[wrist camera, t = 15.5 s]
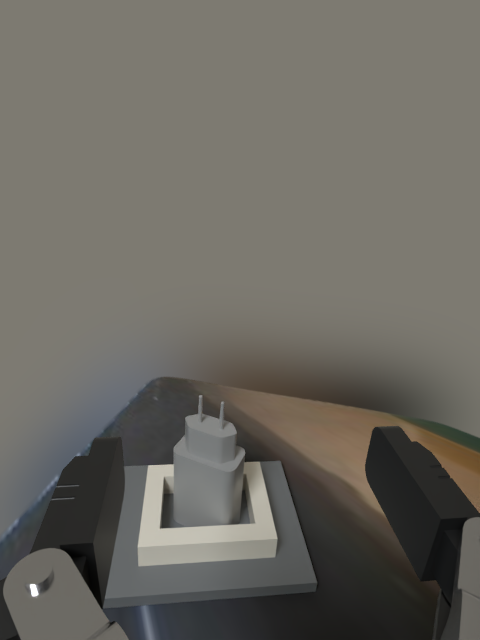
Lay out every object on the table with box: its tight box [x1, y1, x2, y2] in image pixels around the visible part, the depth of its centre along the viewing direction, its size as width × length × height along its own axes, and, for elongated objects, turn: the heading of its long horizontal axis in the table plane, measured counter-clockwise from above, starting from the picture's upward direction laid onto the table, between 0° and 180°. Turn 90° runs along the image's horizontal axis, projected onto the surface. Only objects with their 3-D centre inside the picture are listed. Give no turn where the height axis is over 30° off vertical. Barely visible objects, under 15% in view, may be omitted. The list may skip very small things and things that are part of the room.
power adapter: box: [174, 395, 245, 527], centre depth 32 cm, size 3×5×12 cm, turn 67°
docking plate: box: [103, 461, 317, 608], centre depth 35 cm, size 16×13×3 cm
